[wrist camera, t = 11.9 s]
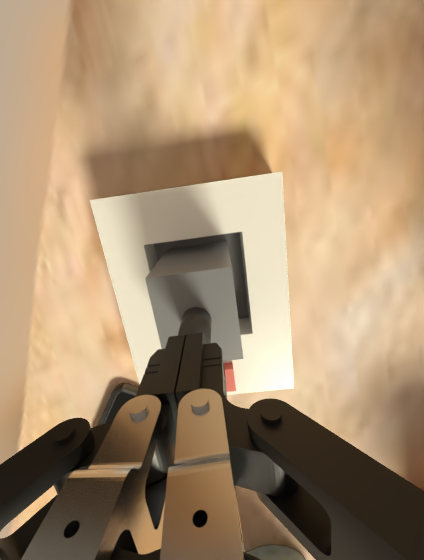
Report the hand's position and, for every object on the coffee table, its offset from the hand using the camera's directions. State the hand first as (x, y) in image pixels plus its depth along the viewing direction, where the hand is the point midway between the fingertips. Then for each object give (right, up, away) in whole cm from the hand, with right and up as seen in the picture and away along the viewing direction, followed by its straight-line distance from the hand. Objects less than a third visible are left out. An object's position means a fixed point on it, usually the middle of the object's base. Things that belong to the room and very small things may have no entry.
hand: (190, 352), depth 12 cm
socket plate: (0, +2, +10) cm, 11 cm away
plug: (0, +3, +10) cm, 10 cm away
